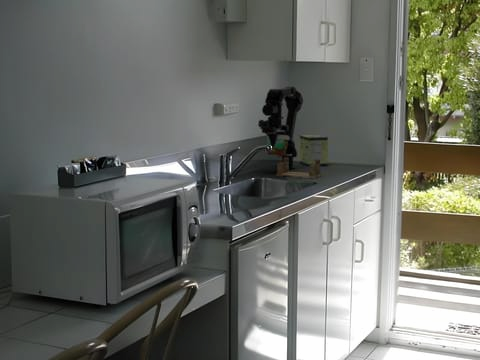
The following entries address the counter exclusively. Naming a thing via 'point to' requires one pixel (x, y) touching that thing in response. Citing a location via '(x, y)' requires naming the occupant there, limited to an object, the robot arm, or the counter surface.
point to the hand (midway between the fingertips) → (275, 146)
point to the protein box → (313, 149)
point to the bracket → (284, 171)
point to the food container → (279, 145)
